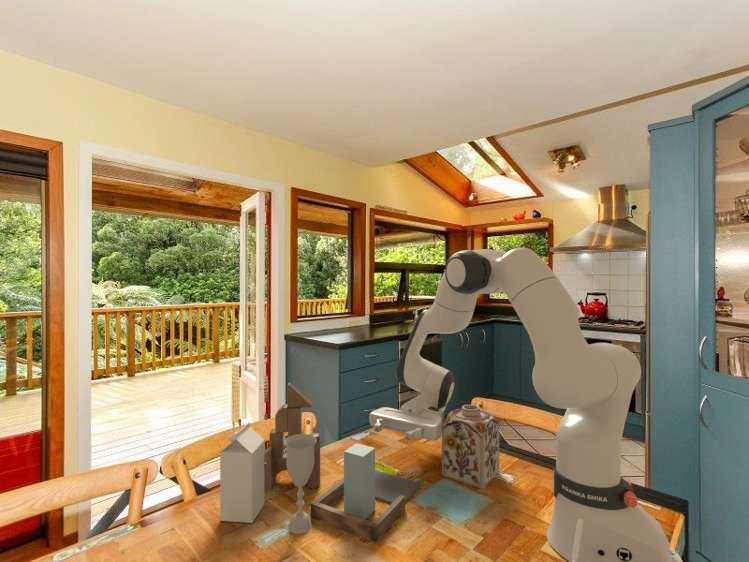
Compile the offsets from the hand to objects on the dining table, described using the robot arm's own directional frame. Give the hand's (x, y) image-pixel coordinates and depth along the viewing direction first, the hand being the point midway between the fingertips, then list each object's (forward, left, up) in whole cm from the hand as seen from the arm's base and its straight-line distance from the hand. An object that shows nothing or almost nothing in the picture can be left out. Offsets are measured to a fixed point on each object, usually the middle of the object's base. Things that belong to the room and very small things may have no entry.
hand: (391, 432), depth 102 cm
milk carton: (+22, +29, -13) cm, 38 cm away
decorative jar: (-16, -14, -13) cm, 25 cm away
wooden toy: (+22, +14, -13) cm, 29 cm away
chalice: (+8, +26, -13) cm, 30 cm away
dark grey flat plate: (0, +3, -12) cm, 13 cm away
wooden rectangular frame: (0, +16, -12) cm, 20 cm away
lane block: (0, +15, -12) cm, 20 cm away
